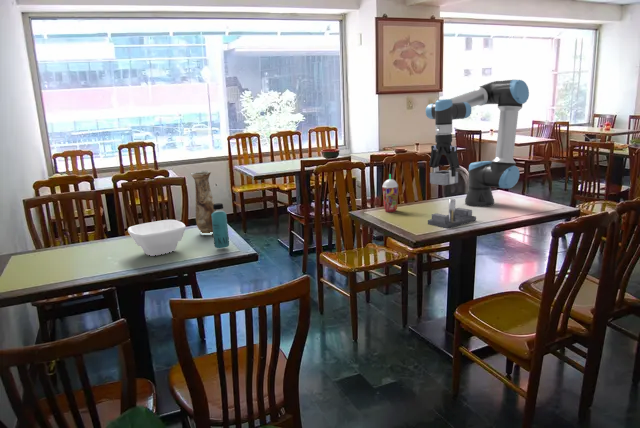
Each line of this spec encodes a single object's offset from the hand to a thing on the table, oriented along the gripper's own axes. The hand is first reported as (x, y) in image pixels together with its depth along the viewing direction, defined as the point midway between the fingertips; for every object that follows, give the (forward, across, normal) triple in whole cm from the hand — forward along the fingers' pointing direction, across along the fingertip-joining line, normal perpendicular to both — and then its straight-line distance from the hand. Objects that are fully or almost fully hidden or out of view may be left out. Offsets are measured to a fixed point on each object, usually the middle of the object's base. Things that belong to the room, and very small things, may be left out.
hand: (443, 182), depth 231 cm
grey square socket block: (0, 0, 0) cm, 0 cm away
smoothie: (+19, -36, -2) cm, 41 cm away
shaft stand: (+19, +3, +2) cm, 20 cm away
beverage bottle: (+18, -33, -99) cm, 106 cm away
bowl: (+18, -48, -122) cm, 132 cm away
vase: (+19, -63, -94) cm, 115 cm away
